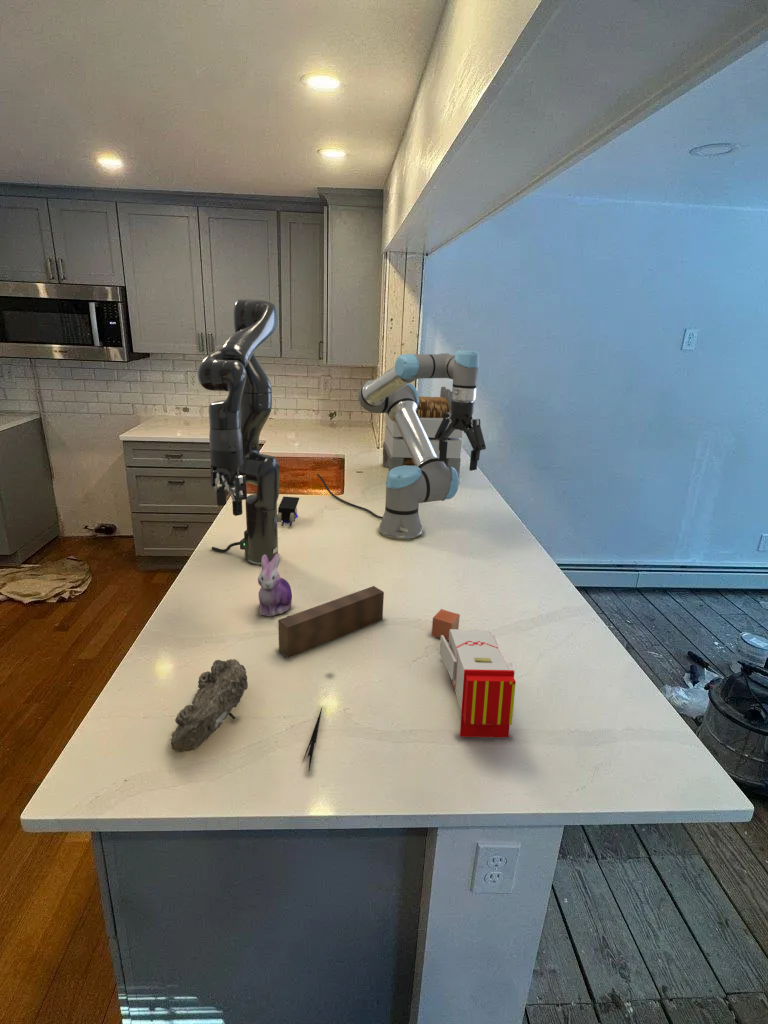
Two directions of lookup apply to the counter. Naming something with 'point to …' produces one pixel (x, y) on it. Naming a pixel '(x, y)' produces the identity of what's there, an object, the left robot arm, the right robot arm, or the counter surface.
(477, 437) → the right robot arm
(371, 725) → the counter surface
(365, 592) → the plank
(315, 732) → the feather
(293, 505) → the figurine character
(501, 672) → the toy
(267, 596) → the figurine
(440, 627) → the terracotta block
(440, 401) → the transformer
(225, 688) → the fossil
